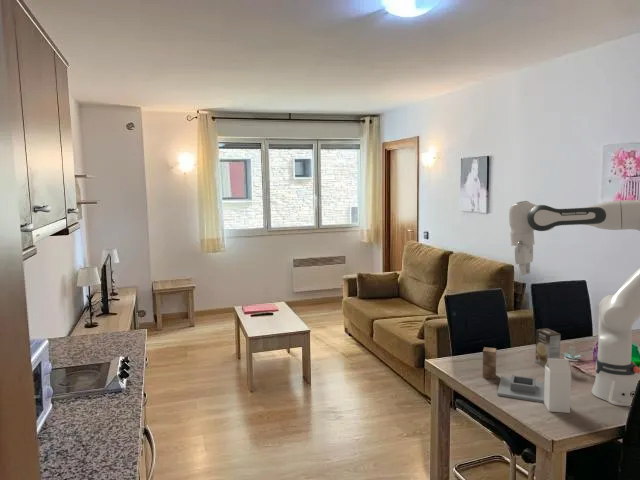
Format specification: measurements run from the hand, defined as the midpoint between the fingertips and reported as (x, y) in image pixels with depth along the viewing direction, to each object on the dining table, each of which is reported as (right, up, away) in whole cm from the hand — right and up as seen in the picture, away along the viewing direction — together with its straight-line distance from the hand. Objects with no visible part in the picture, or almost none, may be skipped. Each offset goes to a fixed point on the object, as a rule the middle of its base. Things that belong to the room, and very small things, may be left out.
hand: (525, 274), depth 192 cm
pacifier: (+35, -43, +30) cm, 63 cm away
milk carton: (+4, -49, -18) cm, 52 cm away
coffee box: (+20, -44, +24) cm, 54 cm away
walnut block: (-10, -46, +13) cm, 49 cm away
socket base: (-2, -47, -2) cm, 47 cm away
